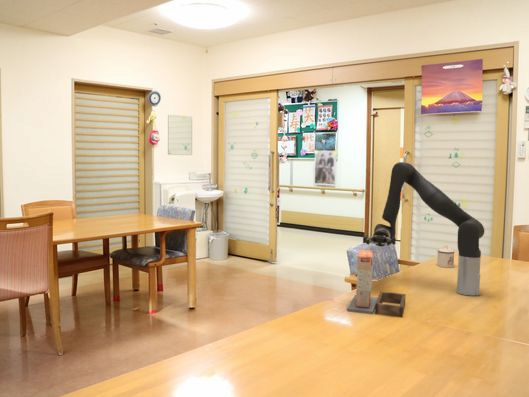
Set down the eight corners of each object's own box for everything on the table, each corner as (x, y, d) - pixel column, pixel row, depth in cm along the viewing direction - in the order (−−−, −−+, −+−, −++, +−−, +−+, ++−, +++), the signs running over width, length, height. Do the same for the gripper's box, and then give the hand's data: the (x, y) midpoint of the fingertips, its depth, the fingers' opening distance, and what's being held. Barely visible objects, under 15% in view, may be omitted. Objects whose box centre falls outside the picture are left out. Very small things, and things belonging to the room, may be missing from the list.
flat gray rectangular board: (378, 299, 209) (378, 297, 208) (372, 314, 190) (372, 311, 190) (354, 297, 212) (354, 294, 212) (347, 311, 193) (347, 308, 193)
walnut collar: (405, 303, 204) (405, 294, 204) (402, 317, 187) (402, 306, 186) (379, 300, 208) (380, 291, 207) (374, 313, 190) (375, 303, 190)
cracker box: (370, 308, 193) (372, 256, 191) (355, 307, 195) (357, 255, 193) (371, 298, 207) (373, 250, 205) (357, 297, 208) (358, 249, 206)
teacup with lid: (450, 268, 268) (451, 248, 267) (434, 266, 274) (435, 245, 273) (458, 265, 277) (459, 245, 276) (442, 262, 283) (443, 243, 282)
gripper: (366, 228, 230) (361, 233, 215) (397, 229, 226) (394, 235, 210) (366, 244, 231) (361, 250, 215) (397, 245, 226) (394, 252, 211)
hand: (377, 242), depth 213 cm, fingers open, 8 cm apart
